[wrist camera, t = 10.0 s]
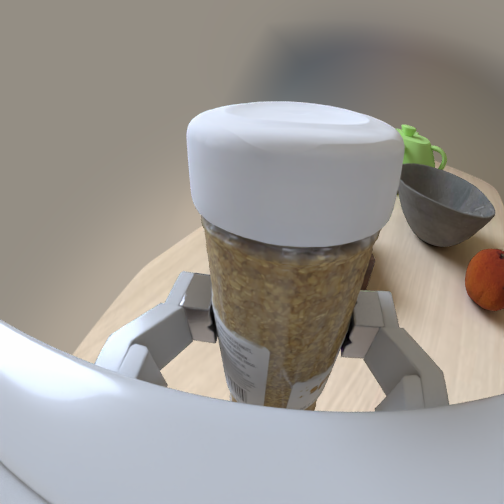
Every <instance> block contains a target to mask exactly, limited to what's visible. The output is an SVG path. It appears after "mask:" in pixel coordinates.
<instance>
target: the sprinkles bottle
mask: <svg viewBox="0 0 504 504" xmlns="http://www.w3.org/2000/svg"><path fill="white" fill-rule="evenodd" d="M404 148H405V146H404V141H403V138H402V136H401V135H400V133H399V132H398V131H397V130H396V129H395V128H393V127H392V126H390V125H389V124H387V123H385V122H383V121H381V120H379V119H376V118H373V117H371V116H368V115H364V114H361V113H357V112H354V111H350V110H346V109H341V108H337V107H332V106H327V105H320V104H313V103H302V102H278V101H277V102H276V101H275V102H253V103H244V104H236V105H228V106H223V107H218V108H215V109H212V110H208V111H205V112H203V113H201V114H199V115H197V116H196V117H195V118H193V119H192V121H191V122H190V124H189V125H188V129H187V150H188V164H189V176H190V185H191V194H192V199H193V203H194V205H195V207H196V209H197V210H198V212H199V213H200V214H201V223H202V226H203V228H204V229H205V237H206V246H207V253H208V261H209V268H210V276H211V282H212V305H213V311H214V317H215V323H216V328H217V334H218V339H219V345H220V351H221V356H222V361H223V367H224V372H225V377H226V381H227V385H228V388H229V390H230V401H233V402H239V403H245V404H252V405H259V406H267V407H276V408H285V409H297V410H311V411H314V410H315V407H316V401H317V398H318V397H319V396H320V394H321V393H322V391H323V389H324V387H325V385H326V382H327V380H328V378H329V375H330V373H331V371H332V368H333V366H334V363H335V361H336V358H337V356H338V354H339V351H340V349H341V346H342V344H343V341H344V339H345V336H346V334H347V331H348V328H349V325H350V321H351V317H352V312H353V309H354V306H355V303H356V301H357V297H358V295H359V292H360V289H361V286H362V284H363V280H364V275H365V273H366V270H367V267H368V264H369V259H370V257H371V254H372V250H373V248H372V247H373V245H374V243H375V241H376V240H377V239H378V236H379V233H380V230H381V229H382V228H383V227H384V226H385V225H386V223H387V222H388V221H389V219H390V216H391V214H392V211H393V208H394V204H395V200H396V195H397V191H398V187H399V182H400V176H401V171H402V164H403V158H404Z"/></svg>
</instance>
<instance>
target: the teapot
mask: <svg viewBox="0 0 504 504" xmlns="http://www.w3.org/2000/svg"><path fill="white" fill-rule="evenodd" d="M396 130H397V131H398V132H399V133H400V135H401V136H402V138H403V141H404V146H405V148H404V158H403V164H406V163H415V164H422V165H427V166H431V167H434V168H435V162H434V156H433V151H432V150H434V151H437V152H439V153H440V154H441V155H442V163H441V165H440V167H439V168H438V169H440V170H443V169H444V167H445V165H446V162H447V157H446V154H445V152H444V151H443V150H442V149H441V148H439V147H437V146H431V144H430V142H429V140H428V139H427V138H425V137H422V136H420V135H419V133H418V132H416V128H414V127H411V126H408V125H402V130H400V129H396Z"/></svg>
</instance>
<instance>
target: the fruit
mask: <svg viewBox="0 0 504 504" xmlns="http://www.w3.org/2000/svg"><path fill="white" fill-rule="evenodd" d="M465 286H466V290H467V293H468V295H469V296H470V298H471V299H472V300H473V301H474V302H475V303H477V304H478V305H479V306H480V307H482V308H484V309H487V310H491V311H498V310H501V309H504V251H501V250H499V249H484V250H482V251H480V252H478V253H477V254H476V255H475V256H474V257H473V258H472V260H471V261H470V263H469V265H468V267H467V271H466V277H465Z"/></svg>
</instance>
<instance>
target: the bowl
mask: <svg viewBox="0 0 504 504" xmlns="http://www.w3.org/2000/svg"><path fill="white" fill-rule="evenodd" d="M398 193H399V198H400V202H401V207H402V210H403V213H404V215H405V218H406V220H407V222H408V224H409V226H410V227H411V229H412V231H413V232H414V233H415V234H416V235H417V236H418V237H419V238H420V239H421V240H423V241H425V242H427V243H429V244H432V245H435V246H440V247H447V246H453V245H456V244H459V243H461V242H463V241H465V240H467V239H469V238H470V237H471V236H473V235H474V234H475V233H477V232H478V231H479V230H480V229H481V228H483V227H484V226H485V225H486V224H487V223H488V222H489V221H490V220H491V219H492V218H493V217H494V216H495V209H494V207H493V205H492V204H491V203H490V201H489V200H488V199H487V197H486V196H485V195H484V194H483V193H482V192H481V191H480V190H479V189H478V188H476V187H475V186H474V185H472V184H471V183H469V182H467V181H466V180H464V179H462V178H460V177H458V176H456V175H453V174H451V173H449V172H446V171H443V170H440V169H437V168H434V167H431V166H427V165H422V164H415V163H406V164H402V171H401V176H400V182H399V187H398Z"/></svg>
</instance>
